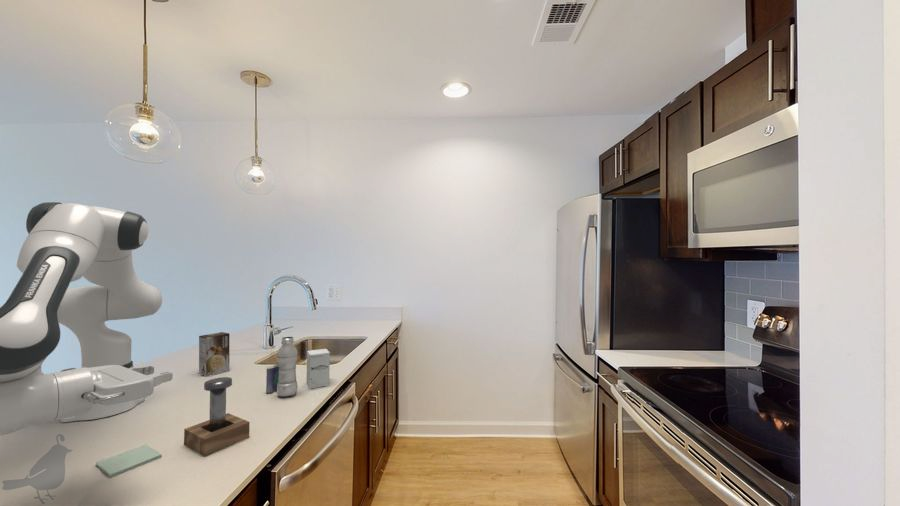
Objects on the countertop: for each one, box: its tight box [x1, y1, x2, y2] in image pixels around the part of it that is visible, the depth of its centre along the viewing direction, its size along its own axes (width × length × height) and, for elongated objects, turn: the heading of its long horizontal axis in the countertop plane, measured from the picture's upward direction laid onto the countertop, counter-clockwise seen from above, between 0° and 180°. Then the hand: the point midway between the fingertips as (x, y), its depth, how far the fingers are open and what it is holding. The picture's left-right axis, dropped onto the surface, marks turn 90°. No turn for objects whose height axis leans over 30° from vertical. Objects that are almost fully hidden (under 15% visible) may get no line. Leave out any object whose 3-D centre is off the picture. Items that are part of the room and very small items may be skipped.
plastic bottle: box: [276, 336, 299, 398], centre depth 119 cm, size 6×7×20 cm
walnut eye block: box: [183, 412, 251, 457], centre depth 89 cm, size 10×10×4 cm
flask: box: [265, 359, 279, 394], centre depth 125 cm, size 9×3×11 cm, turn 151°
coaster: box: [95, 443, 162, 478], centre depth 80 cm, size 9×9×1 cm
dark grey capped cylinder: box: [203, 376, 233, 432], centre depth 89 cm, size 6×6×15 cm
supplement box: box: [305, 348, 331, 390], centre depth 130 cm, size 7×7×13 cm
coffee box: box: [198, 331, 231, 377], centre depth 144 cm, size 9×6×16 cm
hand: (161, 372), depth 79 cm, fingers open, 8 cm apart
